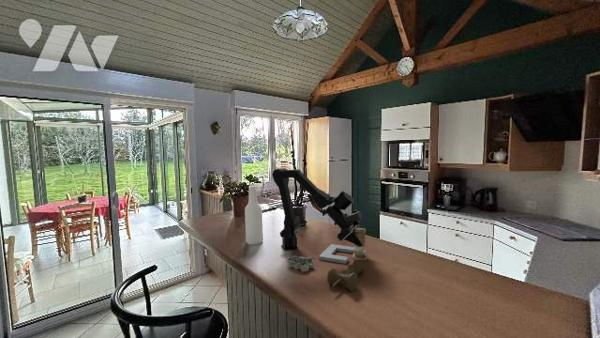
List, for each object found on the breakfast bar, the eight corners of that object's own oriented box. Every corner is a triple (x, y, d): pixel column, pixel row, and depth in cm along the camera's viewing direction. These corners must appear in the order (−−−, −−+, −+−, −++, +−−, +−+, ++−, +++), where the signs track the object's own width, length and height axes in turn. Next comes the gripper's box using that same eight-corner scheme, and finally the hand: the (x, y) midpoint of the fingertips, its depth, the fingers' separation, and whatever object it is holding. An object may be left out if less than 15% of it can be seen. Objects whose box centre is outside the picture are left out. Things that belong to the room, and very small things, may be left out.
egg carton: (316, 267, 111) (316, 257, 110) (304, 273, 105) (304, 263, 105) (296, 260, 118) (296, 251, 117) (284, 266, 112) (284, 257, 112)
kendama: (371, 276, 102) (346, 299, 86) (348, 270, 108) (320, 291, 92) (370, 261, 102) (345, 280, 86) (347, 256, 108) (320, 273, 92)
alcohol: (261, 238, 147) (259, 184, 145) (264, 243, 139) (262, 186, 137) (245, 240, 145) (242, 185, 142) (247, 246, 136) (244, 187, 134)
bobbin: (358, 262, 114) (358, 232, 113) (349, 257, 119) (349, 228, 118) (370, 259, 116) (370, 230, 115) (361, 254, 122) (360, 226, 121)
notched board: (319, 259, 118) (319, 256, 118) (331, 247, 132) (331, 244, 132) (345, 263, 112) (345, 260, 112) (355, 250, 127) (355, 247, 127)
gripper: (344, 209, 110) (372, 239, 106) (355, 201, 126) (380, 226, 122) (326, 226, 114) (352, 255, 110) (339, 216, 130) (362, 241, 126)
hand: (362, 243), depth 117 cm, fingers closed on bobbin, 5 cm apart
